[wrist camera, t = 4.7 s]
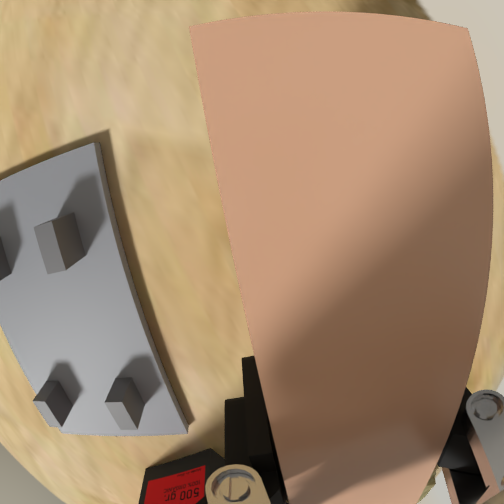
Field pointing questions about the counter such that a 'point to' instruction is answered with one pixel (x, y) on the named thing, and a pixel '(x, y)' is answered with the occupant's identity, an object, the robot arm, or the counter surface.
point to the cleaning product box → (180, 479)
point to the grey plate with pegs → (78, 304)
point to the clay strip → (353, 235)
